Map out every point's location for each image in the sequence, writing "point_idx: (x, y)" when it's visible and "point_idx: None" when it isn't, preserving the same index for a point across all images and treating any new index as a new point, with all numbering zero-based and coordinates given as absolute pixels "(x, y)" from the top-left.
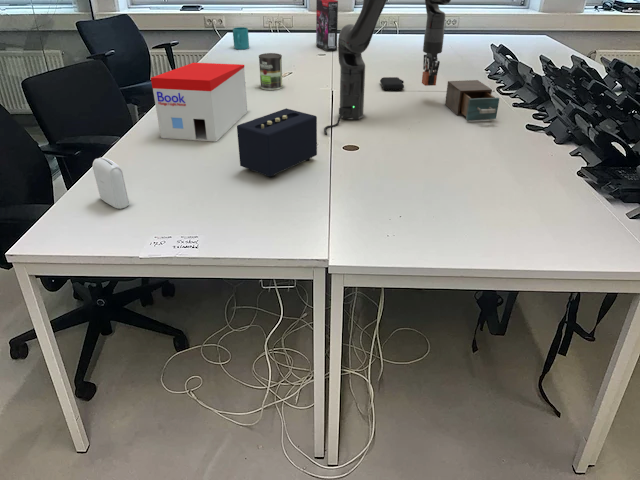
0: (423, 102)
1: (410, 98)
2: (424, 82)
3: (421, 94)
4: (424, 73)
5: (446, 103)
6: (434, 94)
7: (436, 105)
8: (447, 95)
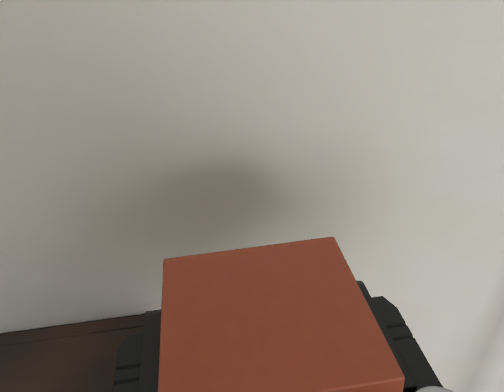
0: (225, 157)
1: (383, 50)
2: (200, 279)
3: (481, 180)
4: (276, 387)
5: (122, 330)
6: (447, 276)
7: (126, 250)
8: (110, 389)
